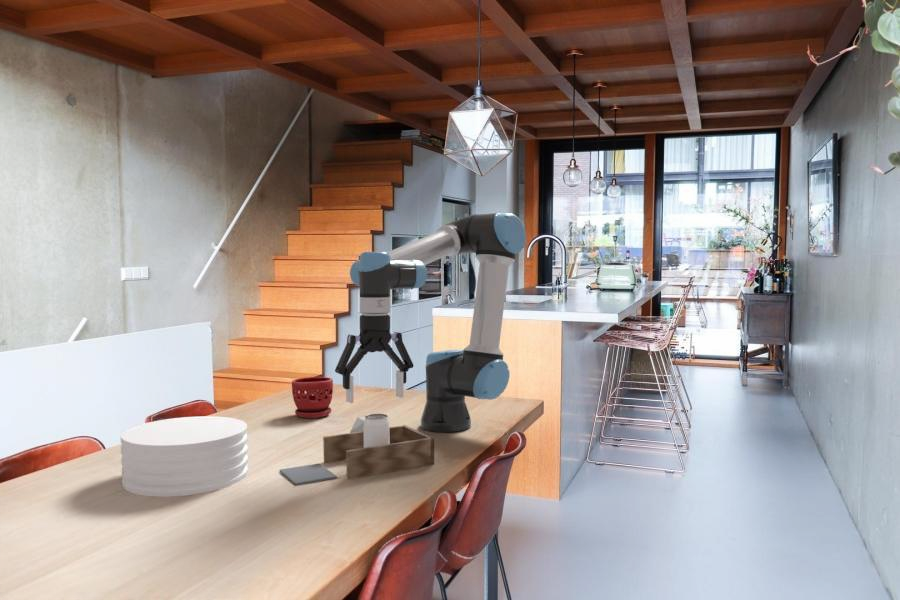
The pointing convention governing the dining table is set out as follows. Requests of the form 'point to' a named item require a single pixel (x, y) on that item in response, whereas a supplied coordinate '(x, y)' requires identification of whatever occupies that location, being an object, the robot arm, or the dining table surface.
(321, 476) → the slate mat
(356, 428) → the die
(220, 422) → the plate stack
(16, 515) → the dining table surface
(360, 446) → the walnut u-shaped enclosure
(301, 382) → the plant pot
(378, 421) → the can
